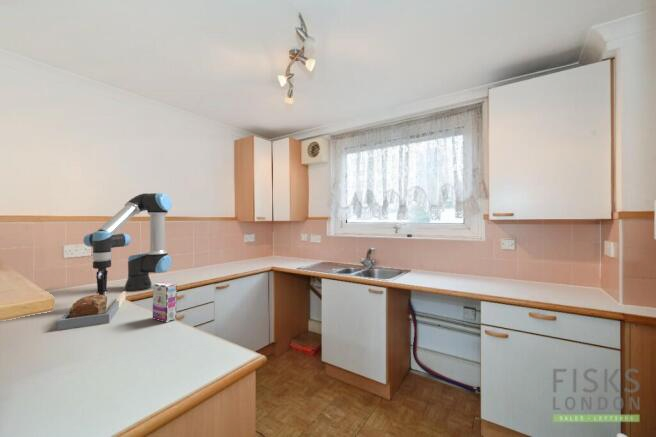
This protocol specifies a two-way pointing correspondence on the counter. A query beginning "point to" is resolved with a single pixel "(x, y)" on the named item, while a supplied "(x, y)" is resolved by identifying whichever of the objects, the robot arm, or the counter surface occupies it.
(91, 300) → the bread
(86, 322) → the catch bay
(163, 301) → the candy bar box
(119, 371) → the counter surface
